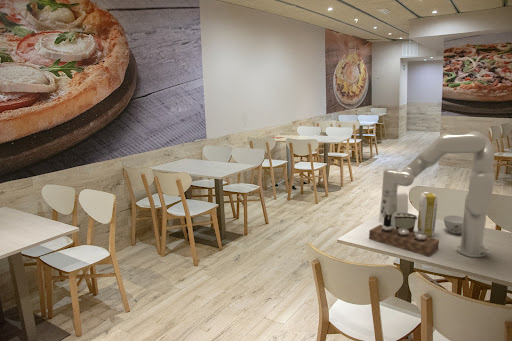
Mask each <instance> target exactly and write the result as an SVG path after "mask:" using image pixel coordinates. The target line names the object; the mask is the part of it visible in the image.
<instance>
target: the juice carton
mask: <svg viewBox="0 0 512 341" xmlns="http://www.w3.org/2000/svg"><path fill="white" fill-rule="evenodd" d="M437 210H438V197H437V196H436V195H435V194H434V192H428V191H424V192H421V193H420V196H419V203H418V214H417V215H418V216H417V233H418V232H420V233H425V234H426V237H430V238H433V237H434V235H435V230H436V220H437Z"/></svg>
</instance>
